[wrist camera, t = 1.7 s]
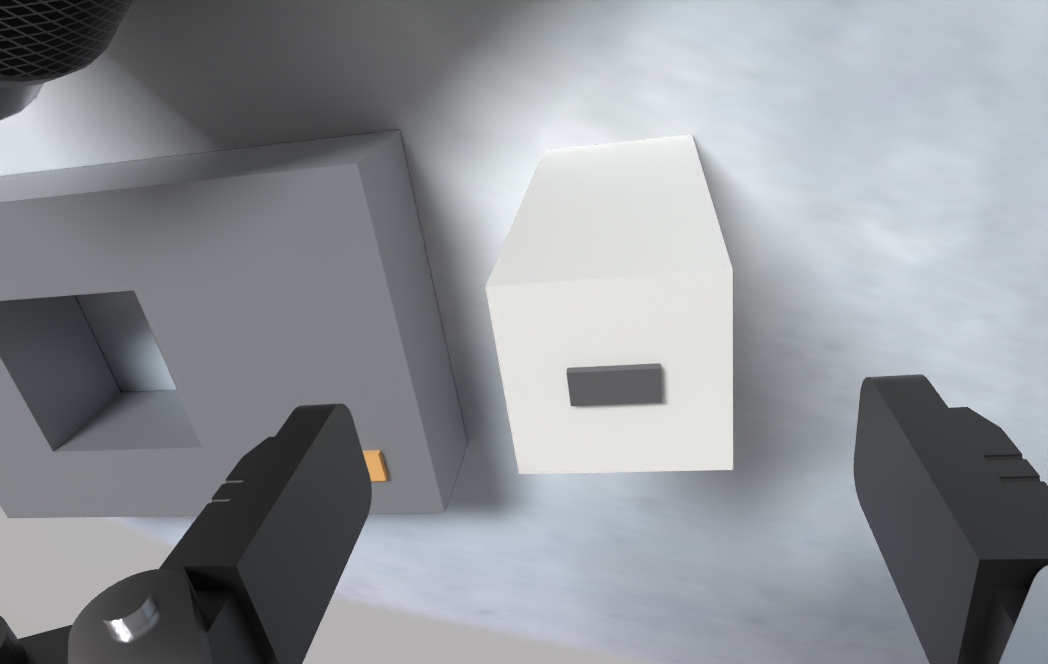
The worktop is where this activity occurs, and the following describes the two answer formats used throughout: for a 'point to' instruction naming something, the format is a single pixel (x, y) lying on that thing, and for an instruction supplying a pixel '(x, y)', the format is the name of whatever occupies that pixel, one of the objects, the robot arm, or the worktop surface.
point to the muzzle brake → (50, 43)
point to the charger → (616, 314)
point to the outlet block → (220, 325)
